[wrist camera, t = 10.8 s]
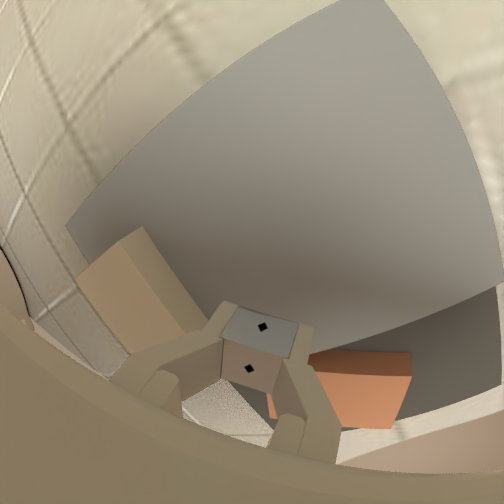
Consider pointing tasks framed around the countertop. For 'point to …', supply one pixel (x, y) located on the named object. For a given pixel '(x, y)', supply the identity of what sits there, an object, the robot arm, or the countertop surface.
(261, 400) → the mat
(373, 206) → the platform
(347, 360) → the terracotta tile
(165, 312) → the cream tile
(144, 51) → the countertop surface
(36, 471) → the robot arm
